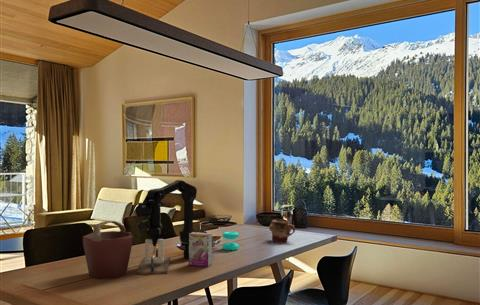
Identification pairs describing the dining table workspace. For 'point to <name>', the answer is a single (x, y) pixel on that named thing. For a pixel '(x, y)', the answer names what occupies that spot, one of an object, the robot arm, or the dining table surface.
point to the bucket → (107, 251)
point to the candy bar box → (200, 249)
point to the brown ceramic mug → (281, 230)
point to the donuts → (230, 245)
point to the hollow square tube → (147, 259)
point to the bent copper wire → (153, 257)
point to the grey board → (158, 267)
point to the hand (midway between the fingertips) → (154, 245)
